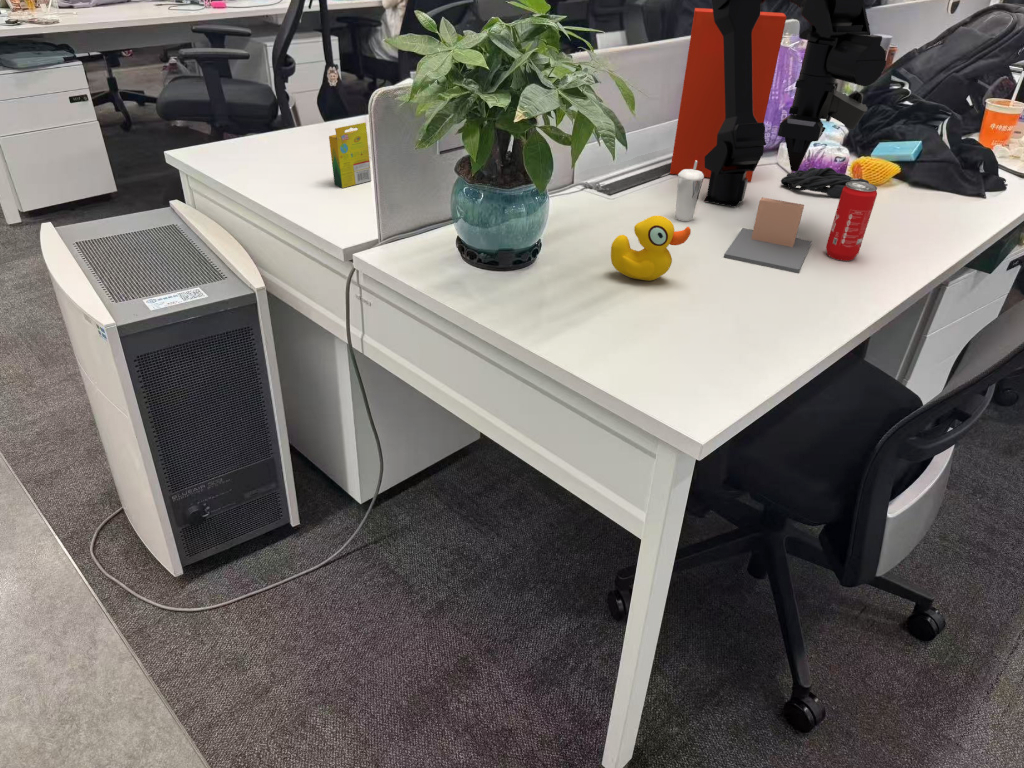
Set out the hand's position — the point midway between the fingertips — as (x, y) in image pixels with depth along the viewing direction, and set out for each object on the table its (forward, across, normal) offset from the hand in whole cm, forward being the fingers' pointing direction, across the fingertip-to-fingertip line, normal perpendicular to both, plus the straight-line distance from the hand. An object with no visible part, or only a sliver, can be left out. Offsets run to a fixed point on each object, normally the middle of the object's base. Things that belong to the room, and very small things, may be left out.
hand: (794, 170), depth 124 cm
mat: (+11, -10, 0) cm, 15 cm away
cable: (+12, +32, -3) cm, 34 cm away
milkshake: (+11, -2, +17) cm, 21 cm away
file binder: (+12, +29, +20) cm, 37 cm away
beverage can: (+11, -6, -11) cm, 17 cm away
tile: (+10, -7, 0) cm, 13 cm away
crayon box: (+12, -19, +81) cm, 84 cm away
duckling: (+11, -32, +15) cm, 37 cm away
